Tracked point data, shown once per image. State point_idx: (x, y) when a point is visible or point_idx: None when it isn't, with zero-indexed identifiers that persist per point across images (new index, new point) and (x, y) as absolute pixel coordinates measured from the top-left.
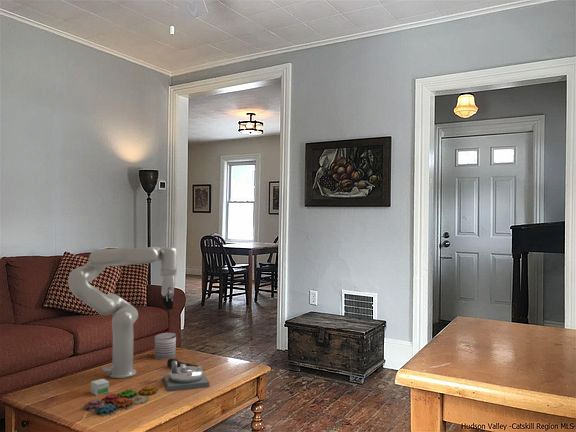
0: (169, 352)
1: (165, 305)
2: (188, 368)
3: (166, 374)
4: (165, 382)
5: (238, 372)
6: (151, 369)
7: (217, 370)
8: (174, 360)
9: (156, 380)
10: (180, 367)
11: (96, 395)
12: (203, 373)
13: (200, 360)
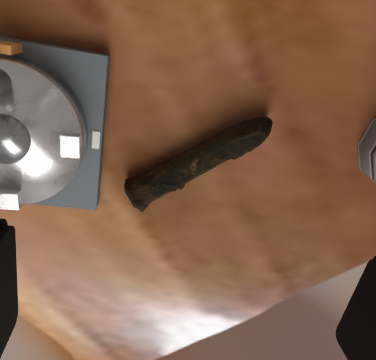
0: (373, 161)
1: (362, 285)
2: (18, 154)
3: (10, 44)
4: (38, 42)
5: (72, 306)
6: (260, 40)
7: (122, 260)
8: (227, 144)
9: (93, 15)
10: (69, 131)
11: None
12: (53, 205)
13: (265, 244)
